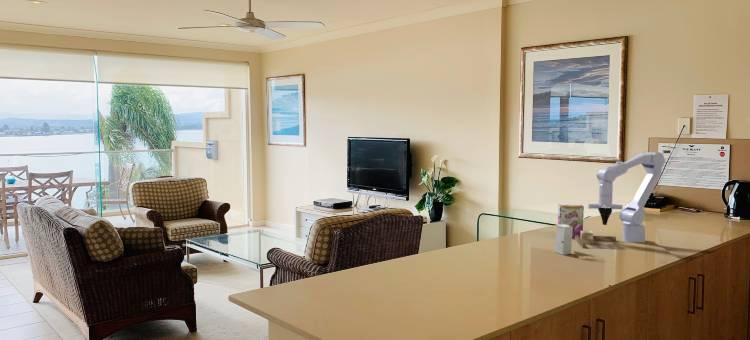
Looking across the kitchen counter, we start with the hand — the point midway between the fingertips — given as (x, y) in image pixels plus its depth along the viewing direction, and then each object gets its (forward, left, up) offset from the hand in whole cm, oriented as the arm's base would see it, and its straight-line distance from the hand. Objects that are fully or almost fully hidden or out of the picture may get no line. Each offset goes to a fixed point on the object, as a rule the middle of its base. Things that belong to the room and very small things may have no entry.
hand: (604, 224), depth 269 cm
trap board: (+3, +5, -9) cm, 11 cm away
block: (+8, +3, -8) cm, 12 cm away
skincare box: (+21, +22, -10) cm, 32 cm away
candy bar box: (+13, -13, -10) cm, 21 cm away
